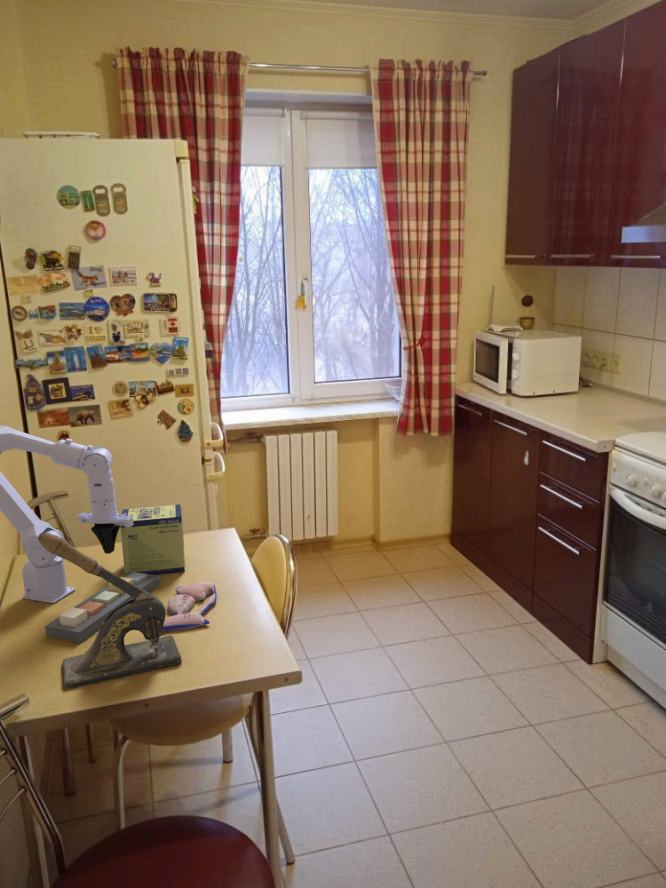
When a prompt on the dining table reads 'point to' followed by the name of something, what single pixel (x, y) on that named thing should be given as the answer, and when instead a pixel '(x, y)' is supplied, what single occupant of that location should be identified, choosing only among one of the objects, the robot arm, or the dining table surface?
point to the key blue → (137, 577)
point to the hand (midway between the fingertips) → (109, 552)
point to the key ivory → (73, 617)
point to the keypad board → (96, 620)
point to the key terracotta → (92, 607)
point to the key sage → (106, 597)
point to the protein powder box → (154, 540)
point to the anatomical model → (189, 606)
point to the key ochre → (117, 590)
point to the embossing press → (116, 628)
